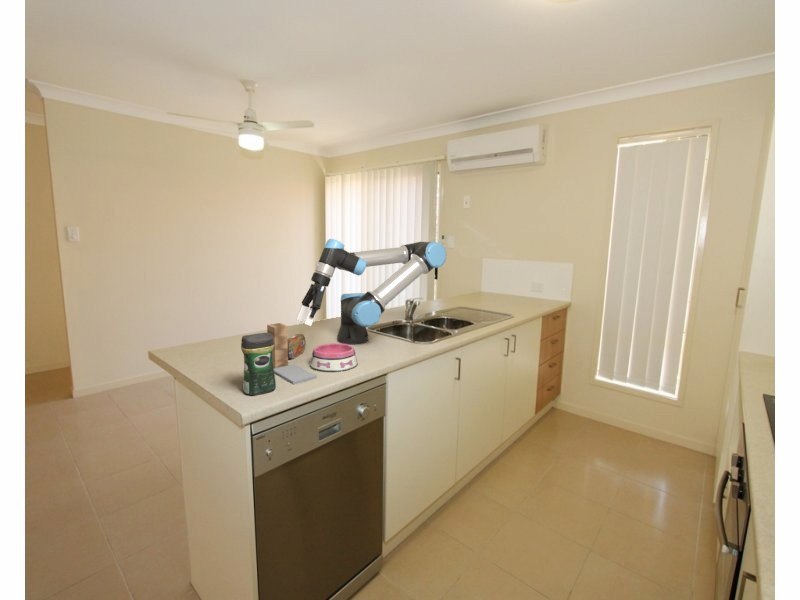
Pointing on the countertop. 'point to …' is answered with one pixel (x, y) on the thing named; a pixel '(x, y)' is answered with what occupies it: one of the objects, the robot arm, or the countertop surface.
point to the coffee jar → (258, 363)
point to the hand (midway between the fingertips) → (303, 322)
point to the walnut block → (279, 344)
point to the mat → (294, 374)
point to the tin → (296, 345)
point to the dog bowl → (333, 358)
